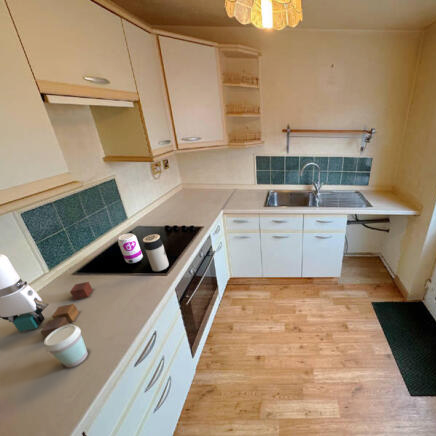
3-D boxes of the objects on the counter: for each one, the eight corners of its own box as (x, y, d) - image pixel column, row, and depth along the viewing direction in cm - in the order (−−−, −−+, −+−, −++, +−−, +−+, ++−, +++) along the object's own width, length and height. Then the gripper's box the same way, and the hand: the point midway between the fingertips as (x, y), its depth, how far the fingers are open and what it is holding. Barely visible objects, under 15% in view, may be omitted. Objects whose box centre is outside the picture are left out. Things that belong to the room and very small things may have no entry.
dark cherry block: (74, 300, 101) (69, 291, 98) (79, 292, 105) (75, 284, 103) (88, 297, 102) (83, 288, 100) (92, 289, 106) (88, 281, 104)
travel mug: (150, 272, 117) (139, 242, 109) (155, 263, 124) (145, 234, 116) (166, 270, 118) (157, 240, 111) (170, 261, 126) (162, 233, 118)
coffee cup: (94, 342, 82) (80, 318, 77) (91, 362, 75) (75, 337, 70) (62, 355, 78) (45, 331, 72) (56, 377, 71) (37, 352, 66)
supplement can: (144, 260, 127) (135, 236, 121) (126, 265, 123) (117, 242, 116) (142, 253, 133) (134, 231, 127) (125, 258, 129) (116, 235, 122)
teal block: (19, 332, 84) (12, 322, 82) (28, 321, 89) (21, 312, 87) (36, 328, 86) (30, 318, 84) (44, 318, 90) (38, 308, 88)
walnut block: (47, 341, 83) (40, 331, 80) (54, 329, 87) (48, 320, 85) (64, 336, 84) (57, 327, 82) (70, 325, 88) (64, 316, 86)
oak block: (57, 325, 89) (51, 316, 86) (64, 315, 93) (58, 306, 91) (73, 321, 90) (67, 312, 88) (79, 312, 94) (73, 303, 92)
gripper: (44, 275, 85) (64, 311, 93) (-18, 286, 80) (9, 322, 88) (31, 289, 79) (54, 325, 87) (-37, 301, 74) (-6, 339, 81)
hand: (31, 324), depth 87 cm, fingers closed on teal block, 5 cm apart
